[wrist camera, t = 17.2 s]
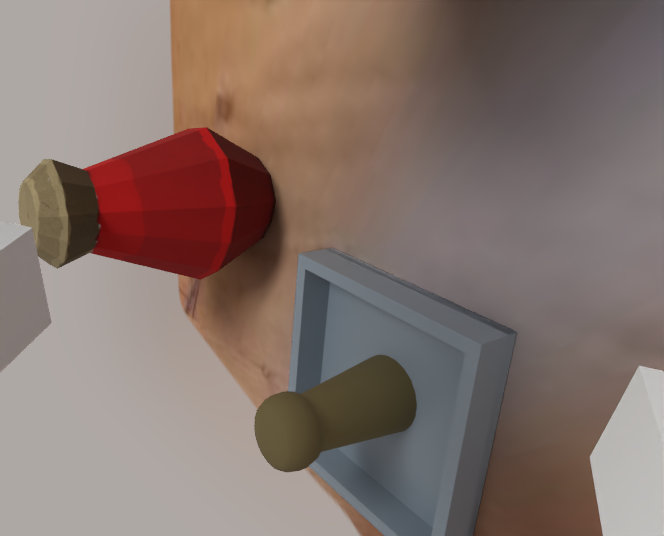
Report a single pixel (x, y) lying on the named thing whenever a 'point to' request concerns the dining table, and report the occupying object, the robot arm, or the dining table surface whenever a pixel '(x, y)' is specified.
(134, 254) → the bottle
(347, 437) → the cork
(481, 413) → the tray
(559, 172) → the dining table surface
